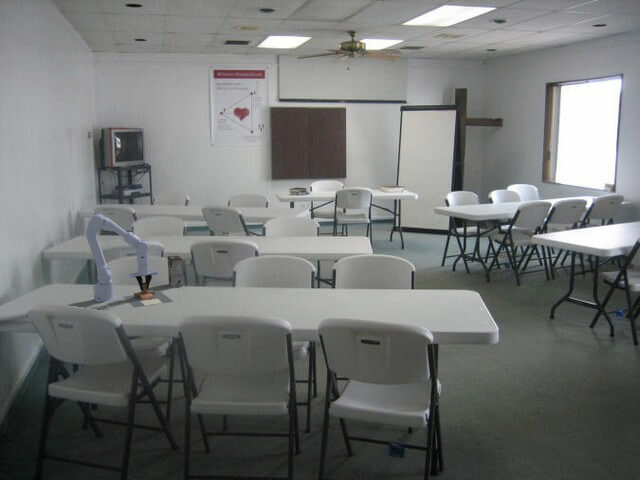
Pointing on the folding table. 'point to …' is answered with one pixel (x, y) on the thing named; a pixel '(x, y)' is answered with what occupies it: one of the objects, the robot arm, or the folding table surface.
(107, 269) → the robot arm
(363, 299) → the folding table surface
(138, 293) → the brown t-shaped block
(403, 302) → the folding table surface
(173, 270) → the coffee box
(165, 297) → the slate board
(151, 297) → the tile
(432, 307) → the folding table surface
